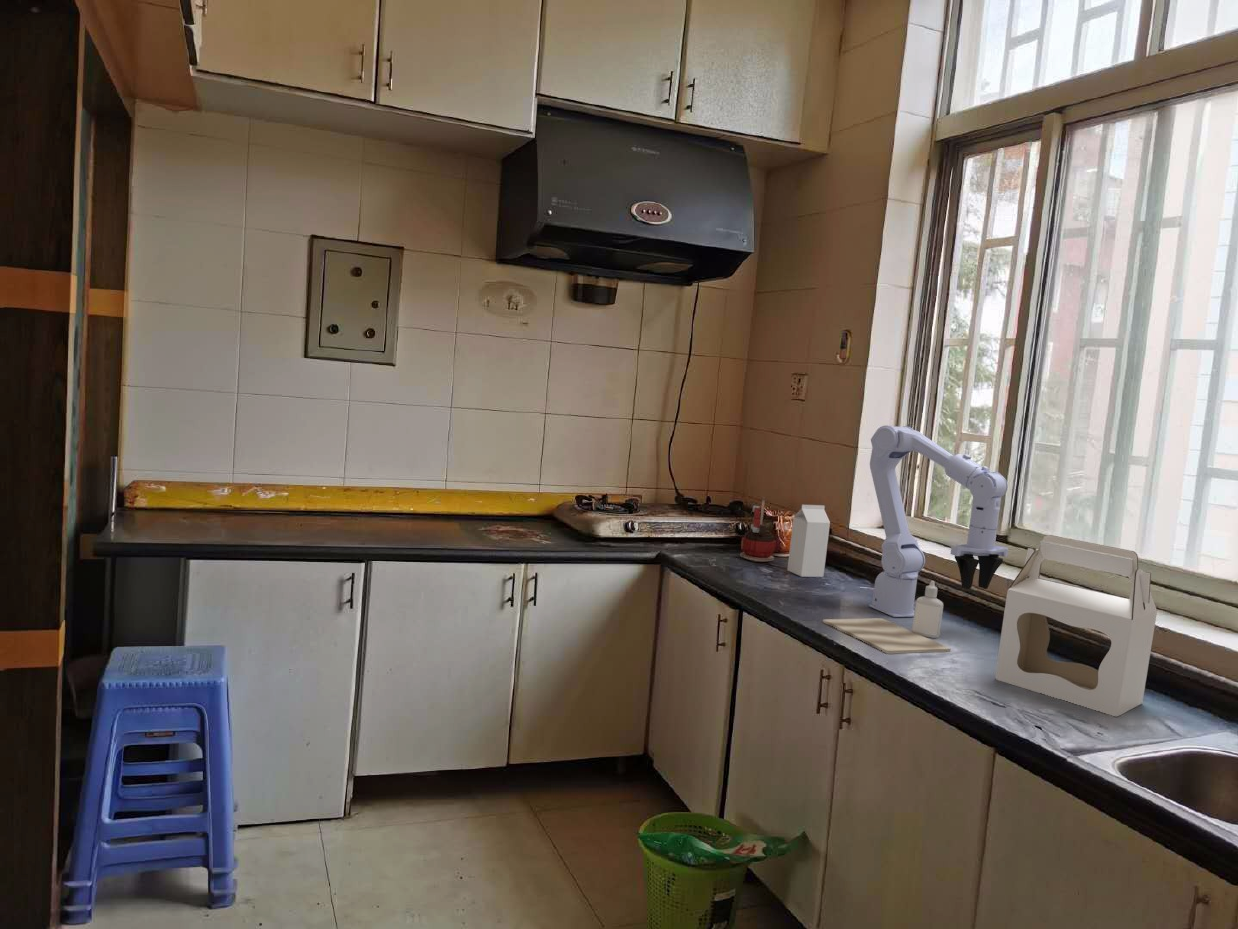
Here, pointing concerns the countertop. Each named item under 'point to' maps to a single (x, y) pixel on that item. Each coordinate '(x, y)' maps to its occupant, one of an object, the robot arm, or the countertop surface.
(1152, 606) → the gable box
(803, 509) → the milk carton
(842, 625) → the birch board
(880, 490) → the robot arm
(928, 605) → the eye dropper bottle
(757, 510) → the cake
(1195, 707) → the countertop surface
